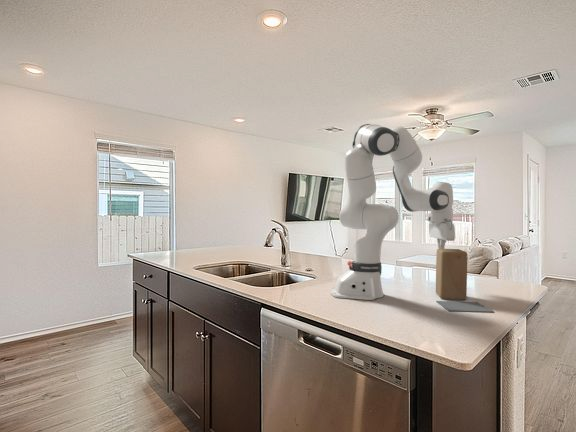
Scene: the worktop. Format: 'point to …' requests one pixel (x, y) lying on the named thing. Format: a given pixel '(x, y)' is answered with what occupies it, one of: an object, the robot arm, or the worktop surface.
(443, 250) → the wooden block
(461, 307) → the mat
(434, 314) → the worktop surface
